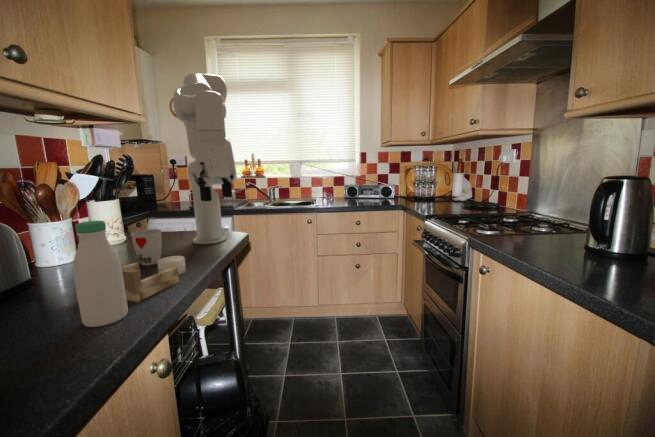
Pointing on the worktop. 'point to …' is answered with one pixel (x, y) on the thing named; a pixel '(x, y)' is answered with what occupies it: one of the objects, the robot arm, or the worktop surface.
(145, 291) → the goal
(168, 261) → the cream egg shape
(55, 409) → the worktop surface
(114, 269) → the milk bottle
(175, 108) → the robot arm
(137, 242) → the cup
